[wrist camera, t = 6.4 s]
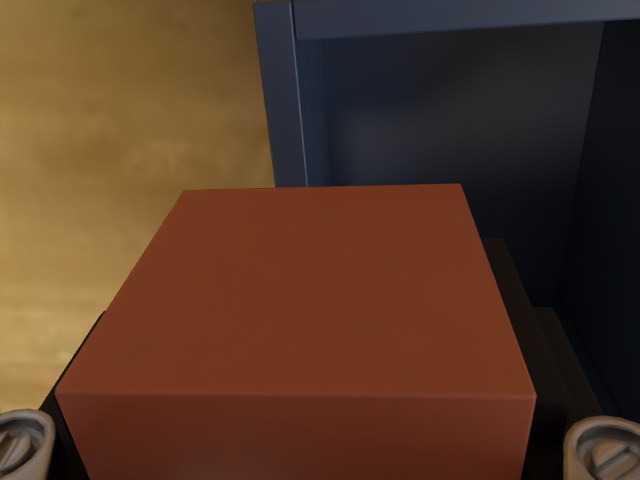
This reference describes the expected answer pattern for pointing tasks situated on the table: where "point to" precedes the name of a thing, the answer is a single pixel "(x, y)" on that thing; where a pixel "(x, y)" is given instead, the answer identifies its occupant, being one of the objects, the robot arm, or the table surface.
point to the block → (305, 345)
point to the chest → (483, 138)
